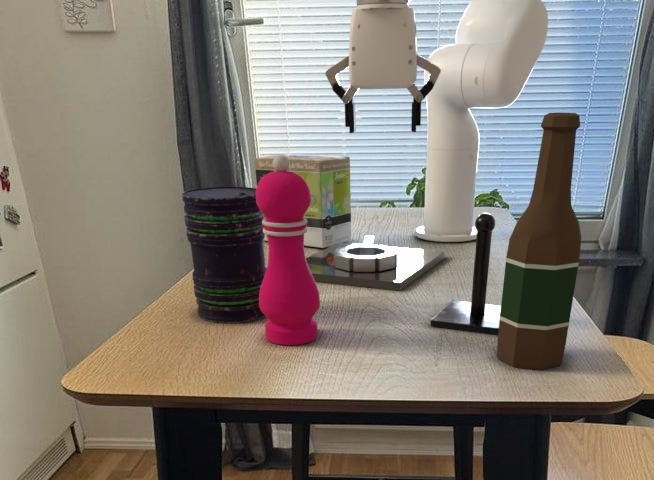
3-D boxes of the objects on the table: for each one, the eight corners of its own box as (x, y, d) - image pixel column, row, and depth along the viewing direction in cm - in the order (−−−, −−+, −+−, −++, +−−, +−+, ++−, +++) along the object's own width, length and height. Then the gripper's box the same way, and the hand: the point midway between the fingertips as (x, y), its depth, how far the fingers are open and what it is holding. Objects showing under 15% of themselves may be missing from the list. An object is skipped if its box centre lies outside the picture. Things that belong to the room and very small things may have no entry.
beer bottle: (486, 347, 78) (509, 111, 65) (552, 344, 78) (587, 110, 66) (505, 372, 71) (534, 115, 59) (576, 369, 72) (620, 114, 59)
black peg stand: (452, 305, 92) (458, 204, 85) (521, 313, 88) (533, 209, 82) (430, 326, 84) (435, 217, 78) (504, 335, 81) (517, 222, 74)
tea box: (353, 240, 129) (352, 155, 121) (323, 250, 121) (320, 160, 114) (290, 232, 136) (286, 151, 128) (259, 241, 128) (252, 156, 121)
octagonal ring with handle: (396, 272, 102) (397, 258, 101) (331, 271, 103) (331, 258, 102) (398, 247, 117) (398, 235, 116) (341, 247, 117) (340, 235, 116)
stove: (339, 249, 122) (339, 241, 122) (444, 258, 115) (445, 250, 115) (280, 277, 105) (280, 269, 104) (399, 290, 98) (400, 281, 98)
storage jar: (182, 318, 88) (164, 196, 80) (222, 298, 95) (209, 185, 88) (248, 326, 84) (236, 200, 77) (284, 305, 92) (276, 188, 85)
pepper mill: (312, 349, 77) (304, 158, 67) (253, 345, 79) (236, 157, 68) (327, 329, 84) (322, 151, 73) (272, 325, 85) (259, 151, 74)
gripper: (442, -3, 98) (438, 128, 107) (326, 1, 99) (331, 130, 109) (444, -7, 92) (438, 133, 101) (319, -3, 93) (325, 135, 102)
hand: (383, 131), depth 105 cm, fingers open, 9 cm apart
